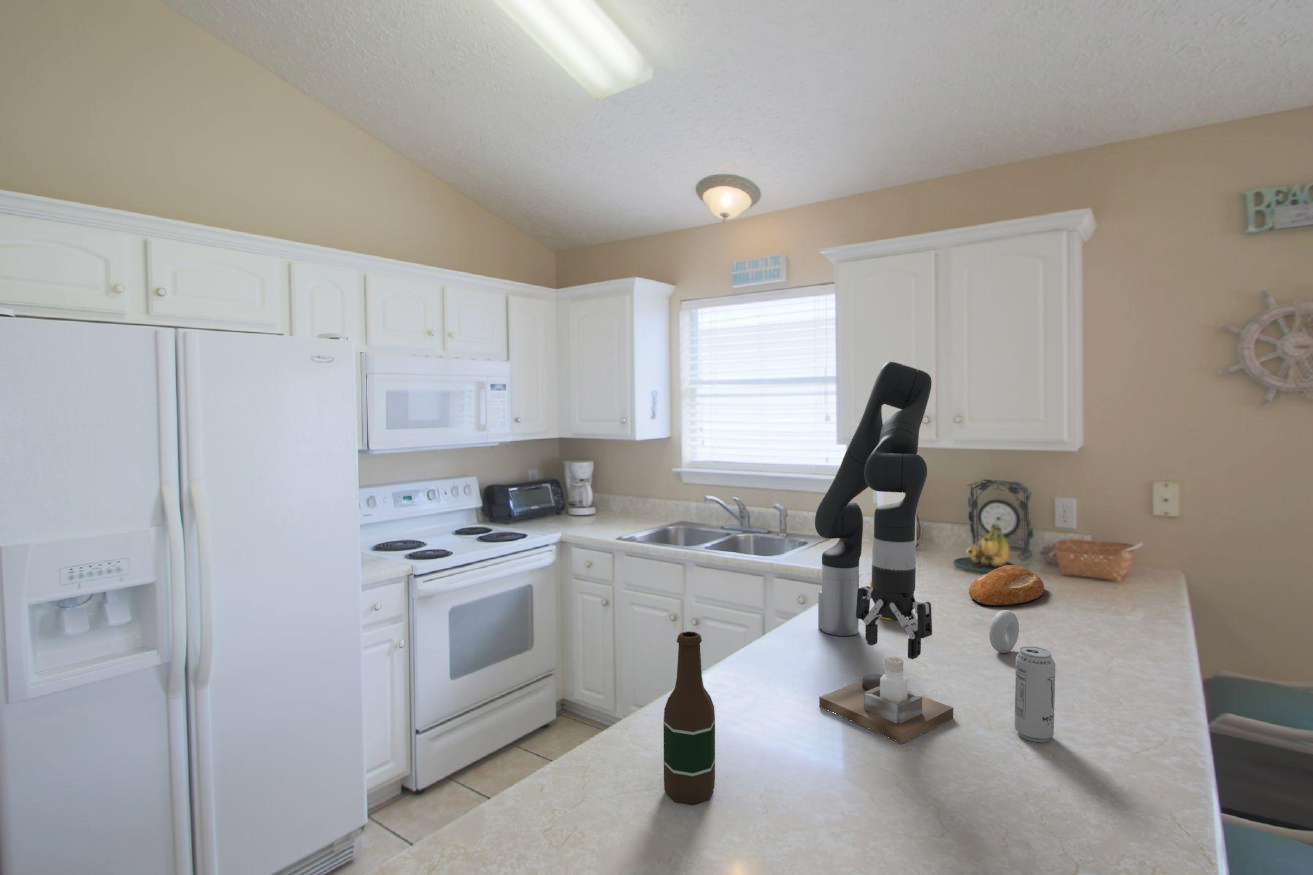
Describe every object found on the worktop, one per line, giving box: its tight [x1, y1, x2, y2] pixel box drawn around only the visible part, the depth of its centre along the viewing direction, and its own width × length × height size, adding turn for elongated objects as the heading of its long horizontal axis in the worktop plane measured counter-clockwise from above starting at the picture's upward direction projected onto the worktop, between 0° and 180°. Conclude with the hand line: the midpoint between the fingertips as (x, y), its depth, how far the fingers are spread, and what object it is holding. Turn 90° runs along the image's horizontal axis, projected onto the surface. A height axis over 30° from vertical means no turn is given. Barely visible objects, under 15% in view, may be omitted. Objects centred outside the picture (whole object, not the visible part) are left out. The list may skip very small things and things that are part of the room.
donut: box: [989, 609, 1020, 654], centre depth 159 cm, size 10×4×10 cm, turn 128°
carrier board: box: [818, 672, 954, 745], centre depth 128 cm, size 18×16×5 cm
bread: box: [968, 564, 1045, 606], centre depth 207 cm, size 18×35×9 cm, turn 131°
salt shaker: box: [880, 656, 909, 704], centre depth 124 cm, size 4×4×10 cm
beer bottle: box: [663, 631, 716, 806], centre depth 102 cm, size 8×8×24 cm
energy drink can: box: [1013, 646, 1056, 743], centre depth 119 cm, size 6×6×15 cm
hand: (891, 650), depth 124 cm, fingers open, 8 cm apart
